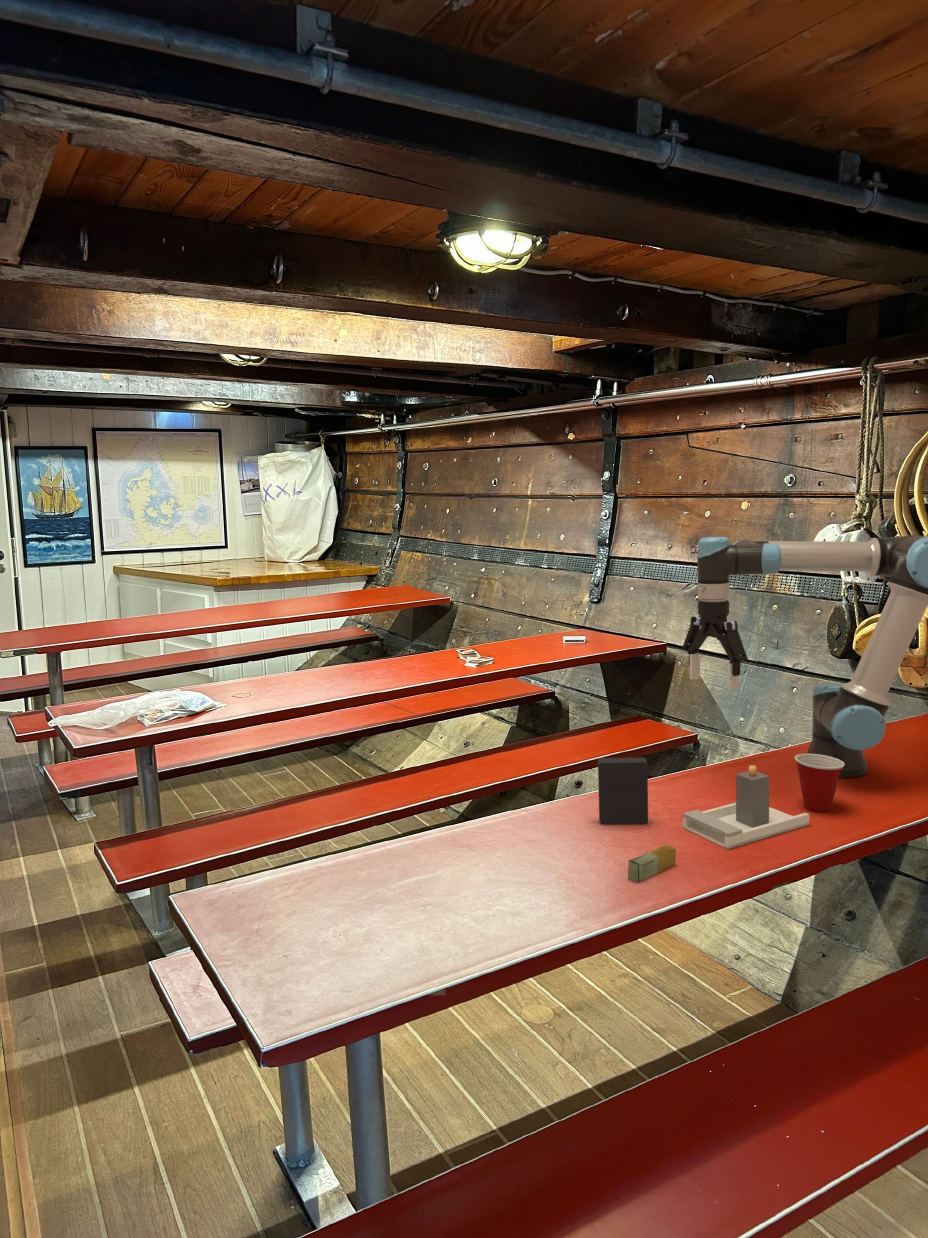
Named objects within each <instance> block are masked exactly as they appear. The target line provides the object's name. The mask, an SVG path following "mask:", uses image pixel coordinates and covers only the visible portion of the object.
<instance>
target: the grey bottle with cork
mask: <svg viewBox="0 0 928 1238" xmlns="http://www.w3.org/2000/svg"><path fill="white" fill-rule="evenodd" d="M735 803H736V821H738V822H740V823H742V824H745V825H747V826H749V827H751V828H754V827H758V826H761V825H765V824H768V823H769V807H770V775H767V774H765V773H762V772H759V771H757V765H753V764H751V765H749V766H748V770H747V771H744V772H739V773H736V774H735Z"/></svg>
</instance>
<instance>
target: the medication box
mask: <svg viewBox="0 0 928 1238" xmlns="http://www.w3.org/2000/svg"><path fill="white" fill-rule="evenodd" d="M676 853H677V849H676V847H674V846H671V845H668V844H664V845H661V846H660V847H657V848H655V849H652V850H650V851H648V852H646V853H642V854H640V855H638V856H636V857H634V858H631V859H629V860H628V861H627V862H628V863H627V864H628V870H627V879H628V880H630V881H632V882H635V883H639V882H641V881H644V880H645V879H648V878H650V877H653V876H654V875H656V874H659V873H660V872H663V871H665V870H667V869H669V868H671V867H673V866H675V865H676V858H677V857H676V856H677V855H676Z"/></svg>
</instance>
